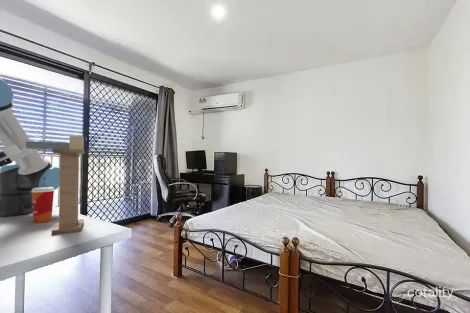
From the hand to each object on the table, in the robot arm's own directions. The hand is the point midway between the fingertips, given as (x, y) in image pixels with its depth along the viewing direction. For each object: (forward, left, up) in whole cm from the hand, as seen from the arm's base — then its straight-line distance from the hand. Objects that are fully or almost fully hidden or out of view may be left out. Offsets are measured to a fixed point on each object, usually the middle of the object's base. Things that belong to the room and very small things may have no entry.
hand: (24, 149), depth 78 cm
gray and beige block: (-1, +9, 0) cm, 9 cm away
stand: (-1, +13, -30) cm, 32 cm away
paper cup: (-18, +2, -30) cm, 35 cm away
